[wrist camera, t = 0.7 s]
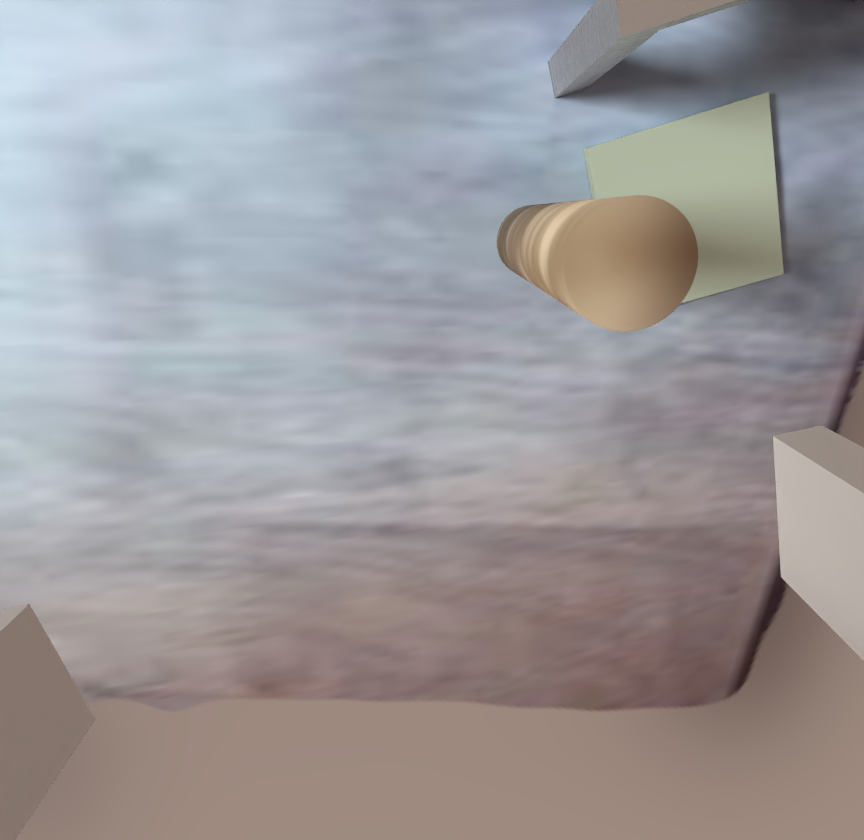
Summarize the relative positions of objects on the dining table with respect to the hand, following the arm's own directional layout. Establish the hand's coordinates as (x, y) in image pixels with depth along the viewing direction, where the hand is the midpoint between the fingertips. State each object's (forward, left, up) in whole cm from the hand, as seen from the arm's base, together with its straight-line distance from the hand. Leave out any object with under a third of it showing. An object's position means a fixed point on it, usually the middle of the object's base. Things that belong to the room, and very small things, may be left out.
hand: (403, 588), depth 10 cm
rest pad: (-2, +17, -27) cm, 32 cm away
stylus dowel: (-3, +8, -27) cm, 29 cm away
